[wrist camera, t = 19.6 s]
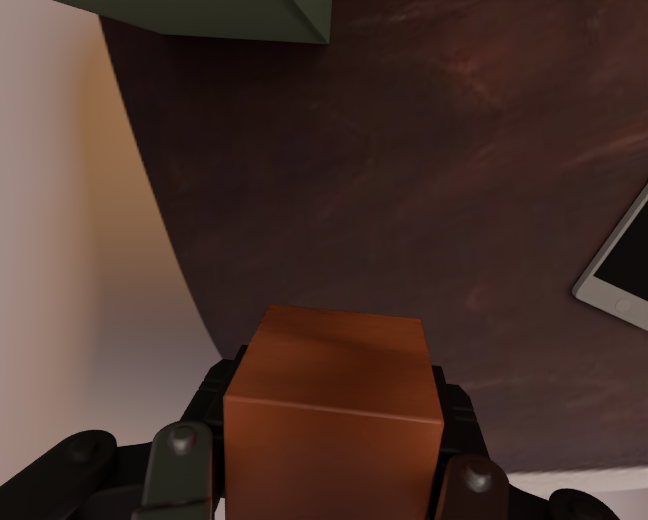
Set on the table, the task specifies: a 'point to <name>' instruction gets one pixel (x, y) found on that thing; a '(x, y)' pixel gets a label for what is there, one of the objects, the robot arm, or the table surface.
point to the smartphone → (621, 269)
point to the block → (331, 419)
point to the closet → (222, 17)
